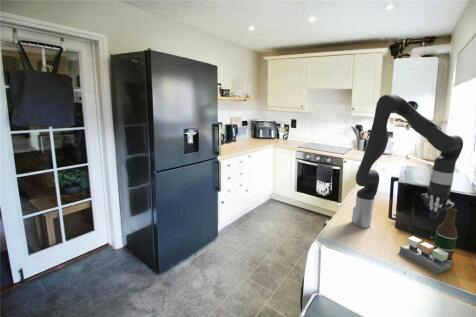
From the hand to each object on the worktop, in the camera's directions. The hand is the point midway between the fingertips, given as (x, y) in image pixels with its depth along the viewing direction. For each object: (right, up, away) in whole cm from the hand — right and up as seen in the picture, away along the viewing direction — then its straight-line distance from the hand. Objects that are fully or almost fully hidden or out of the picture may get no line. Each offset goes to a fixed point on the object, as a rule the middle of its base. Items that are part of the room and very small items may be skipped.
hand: (433, 218), depth 114 cm
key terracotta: (0, -16, +4) cm, 16 cm away
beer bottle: (+11, -20, +9) cm, 24 cm away
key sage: (+2, -17, -1) cm, 17 cm away
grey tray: (-1, -20, +5) cm, 21 cm away
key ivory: (-3, -15, +9) cm, 17 cm away
